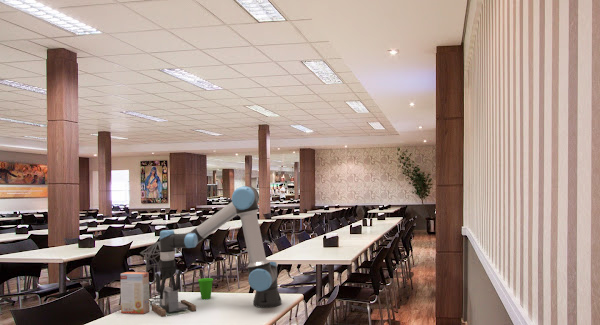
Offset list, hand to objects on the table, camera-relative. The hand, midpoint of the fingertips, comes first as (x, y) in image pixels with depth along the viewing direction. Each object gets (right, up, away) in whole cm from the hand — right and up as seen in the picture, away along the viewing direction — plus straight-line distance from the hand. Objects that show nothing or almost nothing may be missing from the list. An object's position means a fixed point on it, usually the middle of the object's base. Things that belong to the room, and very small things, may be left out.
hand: (168, 304), depth 270 cm
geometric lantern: (-10, -5, +18) cm, 21 cm away
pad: (+2, -4, +1) cm, 5 cm away
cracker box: (-18, -5, +1) cm, 19 cm away
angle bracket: (+2, -2, +1) cm, 3 cm away
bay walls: (+2, -4, +1) cm, 5 cm away
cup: (+14, -5, +29) cm, 33 cm away
